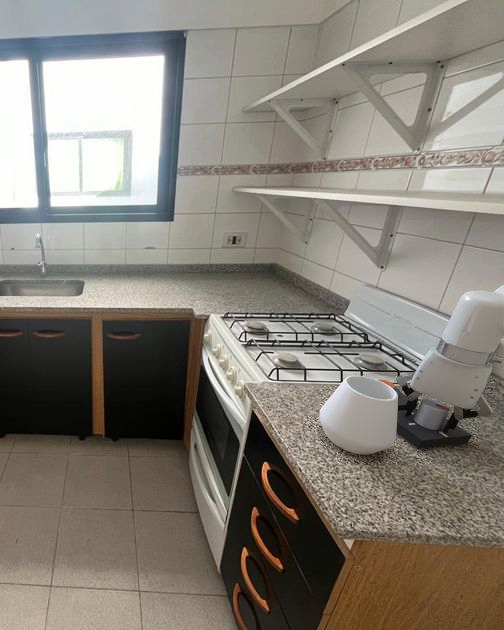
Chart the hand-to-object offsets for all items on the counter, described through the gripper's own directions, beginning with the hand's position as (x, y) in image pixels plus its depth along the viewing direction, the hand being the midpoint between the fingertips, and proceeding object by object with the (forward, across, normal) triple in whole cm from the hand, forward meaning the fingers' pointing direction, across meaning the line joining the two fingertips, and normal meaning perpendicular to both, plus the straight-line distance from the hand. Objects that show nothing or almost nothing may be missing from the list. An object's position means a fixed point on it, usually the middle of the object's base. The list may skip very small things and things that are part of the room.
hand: (427, 420), depth 77 cm
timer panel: (+3, 0, 0) cm, 3 cm away
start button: (0, +10, -5) cm, 11 cm away
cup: (+3, +9, +16) cm, 18 cm away
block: (+3, +10, -6) cm, 11 cm away
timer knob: (+1, 0, 0) cm, 1 cm away
